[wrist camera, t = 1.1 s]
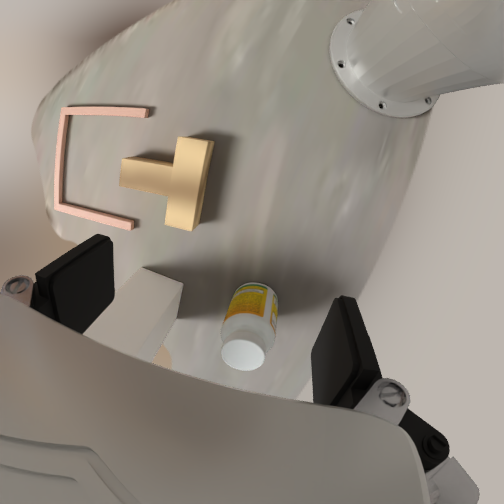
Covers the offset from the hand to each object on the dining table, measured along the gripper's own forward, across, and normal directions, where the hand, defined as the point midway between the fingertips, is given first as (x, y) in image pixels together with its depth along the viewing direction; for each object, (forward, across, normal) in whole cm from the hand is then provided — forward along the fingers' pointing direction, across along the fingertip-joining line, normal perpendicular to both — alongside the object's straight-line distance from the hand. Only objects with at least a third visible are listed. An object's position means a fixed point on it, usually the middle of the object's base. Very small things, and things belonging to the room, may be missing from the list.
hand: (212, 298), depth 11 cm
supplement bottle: (+19, -2, +12) cm, 22 cm away
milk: (+19, +10, +14) cm, 26 cm away
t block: (+19, +10, 0) cm, 21 cm away
